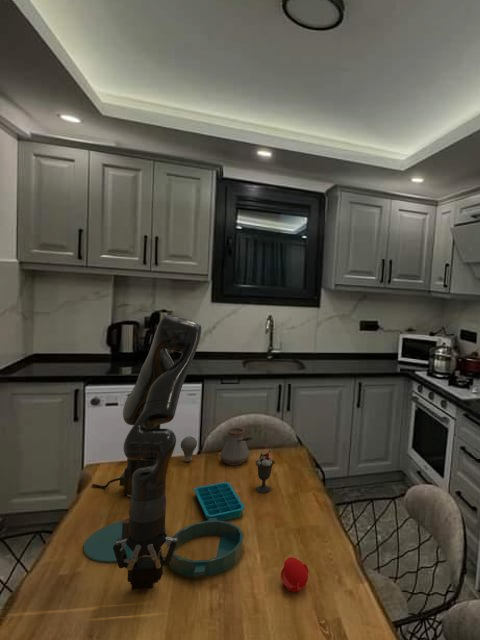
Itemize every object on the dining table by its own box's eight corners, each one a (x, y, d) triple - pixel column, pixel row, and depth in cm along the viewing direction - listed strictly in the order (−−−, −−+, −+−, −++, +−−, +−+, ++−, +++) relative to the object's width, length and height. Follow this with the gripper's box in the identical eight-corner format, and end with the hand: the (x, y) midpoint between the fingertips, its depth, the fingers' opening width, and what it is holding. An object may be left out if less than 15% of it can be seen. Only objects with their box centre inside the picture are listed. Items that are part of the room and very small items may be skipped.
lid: (69, 567, 107) (70, 544, 107) (100, 523, 126) (101, 503, 126) (155, 562, 112) (156, 540, 111) (172, 520, 131) (173, 501, 130)
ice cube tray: (228, 489, 152) (228, 481, 152) (245, 517, 135) (245, 508, 135) (193, 496, 145) (193, 487, 145) (206, 527, 129) (207, 517, 129)
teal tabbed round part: (156, 589, 102) (157, 571, 102) (178, 531, 126) (179, 516, 125) (238, 583, 107) (239, 566, 106) (245, 528, 130) (245, 514, 130)
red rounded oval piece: (313, 587, 107) (315, 564, 107) (294, 599, 103) (296, 575, 102) (294, 571, 113) (295, 549, 112) (275, 581, 108) (276, 559, 108)
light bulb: (199, 460, 174) (200, 436, 173) (188, 465, 168) (189, 440, 167) (187, 457, 175) (188, 433, 175) (176, 462, 170) (177, 437, 169)
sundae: (270, 494, 151) (273, 453, 150) (251, 492, 151) (253, 451, 150) (275, 485, 158) (277, 446, 156) (256, 484, 158) (259, 444, 156)
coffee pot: (215, 458, 176) (217, 423, 175) (242, 453, 183) (244, 419, 182) (234, 479, 160) (237, 440, 158) (264, 473, 167) (266, 435, 166)
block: (131, 589, 99) (132, 569, 99) (137, 576, 103) (138, 556, 103) (152, 588, 100) (153, 567, 100) (157, 575, 104) (158, 555, 104)
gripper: (184, 503, 106) (180, 568, 107) (119, 505, 102) (117, 572, 104) (177, 519, 98) (173, 590, 100) (107, 522, 95) (105, 595, 96)
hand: (145, 580), depth 102 cm, fingers closed on block, 4 cm apart
